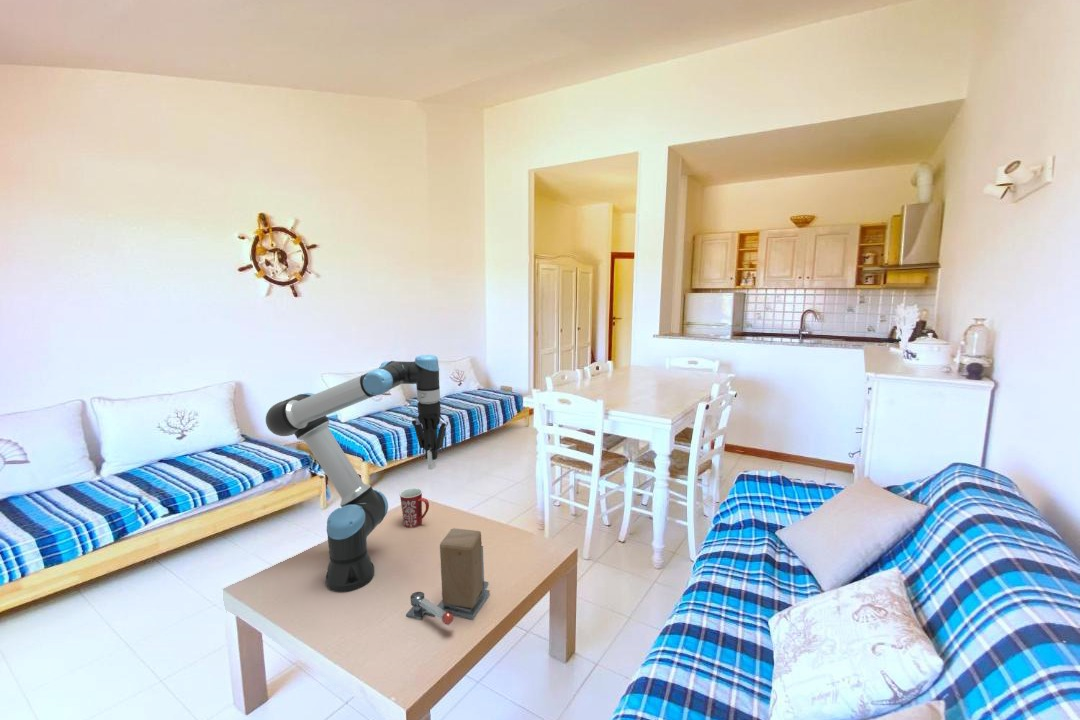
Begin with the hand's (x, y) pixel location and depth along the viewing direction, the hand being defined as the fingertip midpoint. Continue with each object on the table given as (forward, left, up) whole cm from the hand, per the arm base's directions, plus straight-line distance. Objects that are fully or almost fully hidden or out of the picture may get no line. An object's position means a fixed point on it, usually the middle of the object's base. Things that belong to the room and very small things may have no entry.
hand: (432, 467), depth 164 cm
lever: (+15, -28, -32) cm, 45 cm away
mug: (-21, +20, -35) cm, 45 cm away
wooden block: (+20, -18, -33) cm, 42 cm away
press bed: (+16, -18, -34) cm, 42 cm away
